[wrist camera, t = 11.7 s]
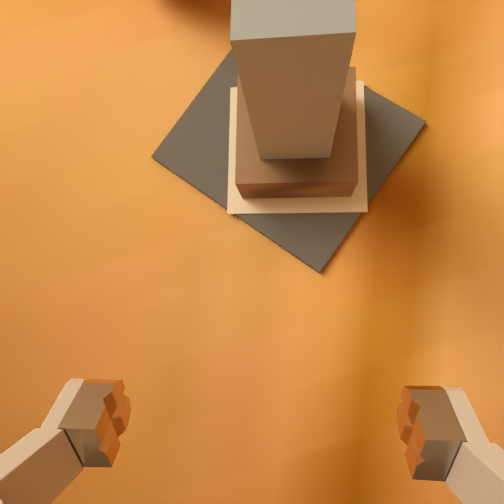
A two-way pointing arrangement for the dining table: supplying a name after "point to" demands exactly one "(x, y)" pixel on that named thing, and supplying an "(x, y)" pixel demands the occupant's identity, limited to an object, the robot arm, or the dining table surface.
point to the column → (293, 71)
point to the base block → (299, 170)
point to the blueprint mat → (284, 209)
